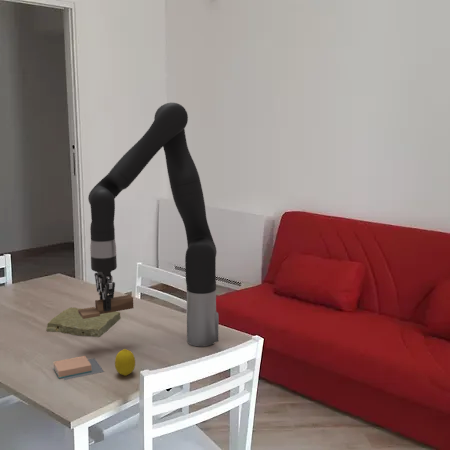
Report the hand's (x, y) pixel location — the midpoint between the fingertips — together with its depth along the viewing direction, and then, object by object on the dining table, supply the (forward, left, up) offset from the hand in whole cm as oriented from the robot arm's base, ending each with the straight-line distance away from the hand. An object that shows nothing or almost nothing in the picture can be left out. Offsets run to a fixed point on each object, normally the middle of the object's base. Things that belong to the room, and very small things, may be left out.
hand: (105, 308), depth 176 cm
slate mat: (+11, +11, -13) cm, 20 cm away
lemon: (+1, +20, -13) cm, 24 cm away
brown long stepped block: (0, 0, -1) cm, 1 cm away
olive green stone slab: (+2, -23, -14) cm, 27 cm away
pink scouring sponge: (+9, +11, -12) cm, 18 cm away
